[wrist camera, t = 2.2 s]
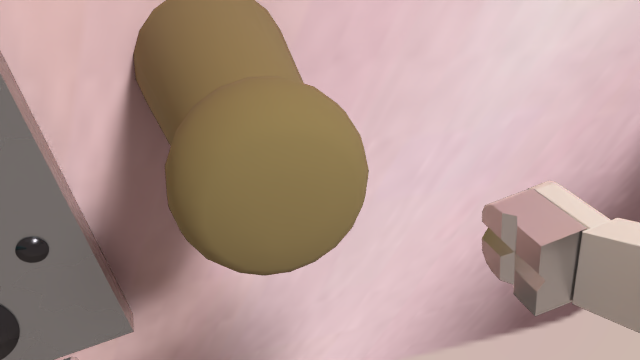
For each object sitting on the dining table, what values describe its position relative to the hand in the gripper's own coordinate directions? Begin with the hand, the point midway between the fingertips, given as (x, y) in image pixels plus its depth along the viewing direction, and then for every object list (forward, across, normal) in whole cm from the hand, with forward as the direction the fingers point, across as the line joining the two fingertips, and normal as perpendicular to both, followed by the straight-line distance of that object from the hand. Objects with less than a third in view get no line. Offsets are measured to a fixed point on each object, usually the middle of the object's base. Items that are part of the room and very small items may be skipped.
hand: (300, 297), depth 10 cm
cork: (+14, -1, 0) cm, 14 cm away
